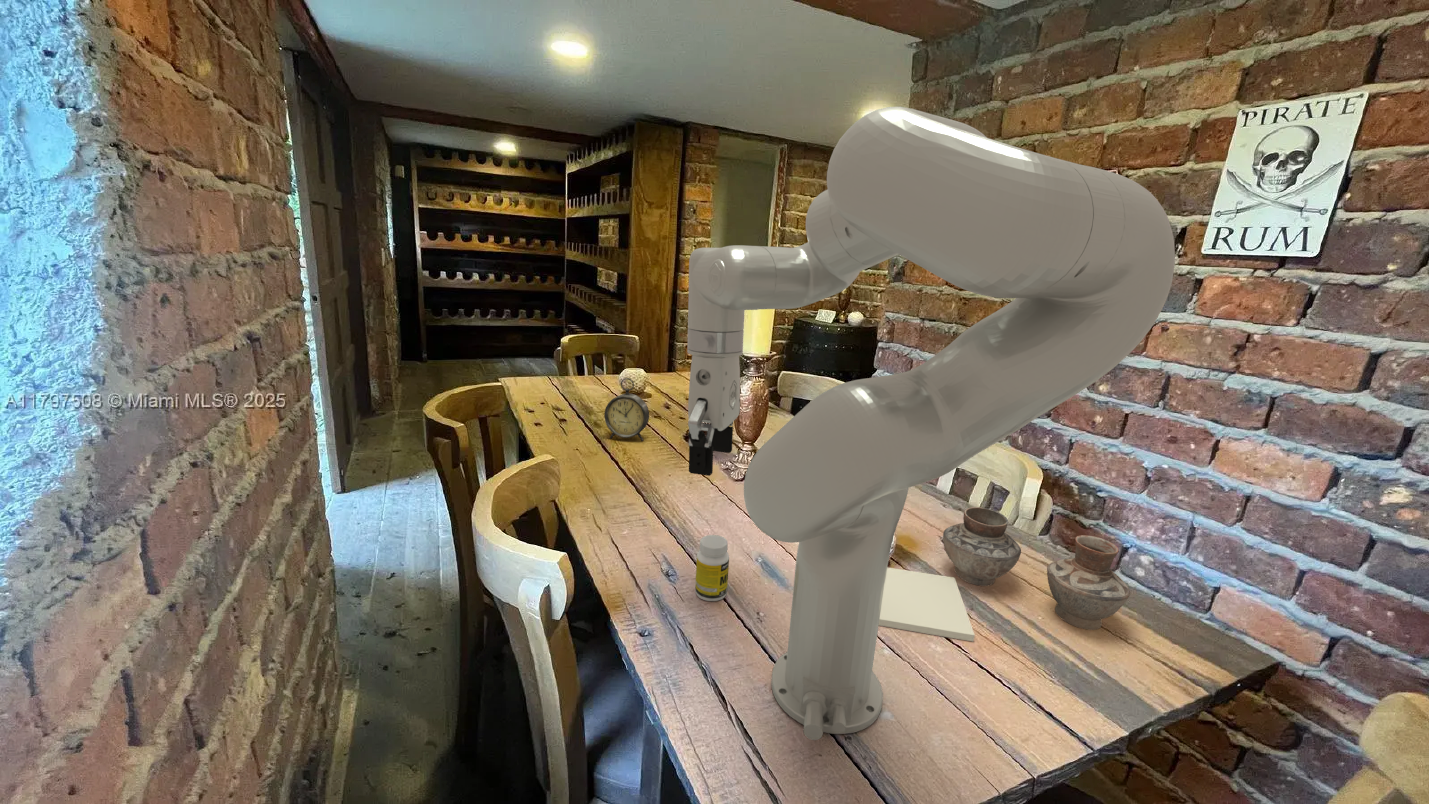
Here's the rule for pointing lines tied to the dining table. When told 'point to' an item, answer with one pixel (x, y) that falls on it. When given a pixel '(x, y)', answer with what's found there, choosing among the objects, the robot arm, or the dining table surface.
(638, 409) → the alarm clock
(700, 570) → the supplement bottle
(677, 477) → the dining table surface
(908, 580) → the cream board
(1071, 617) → the pottery
